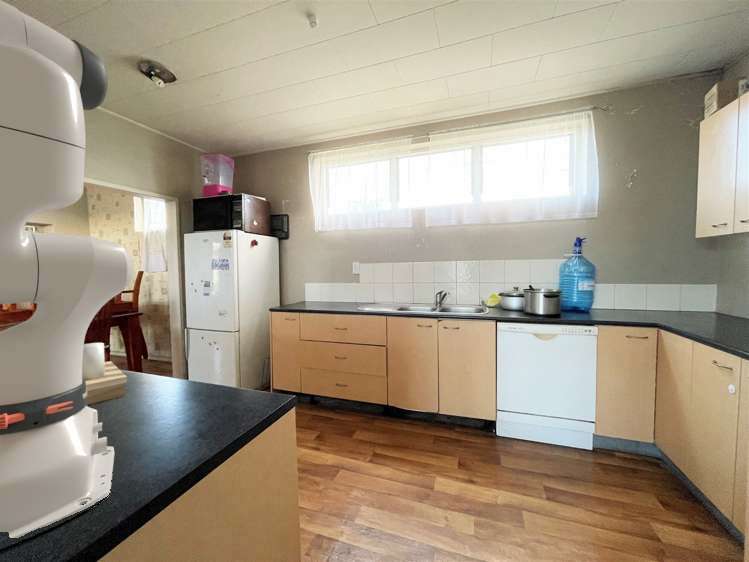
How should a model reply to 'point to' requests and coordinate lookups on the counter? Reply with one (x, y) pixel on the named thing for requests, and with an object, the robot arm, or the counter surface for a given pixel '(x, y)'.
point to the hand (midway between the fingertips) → (42, 278)
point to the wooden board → (106, 385)
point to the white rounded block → (93, 361)
